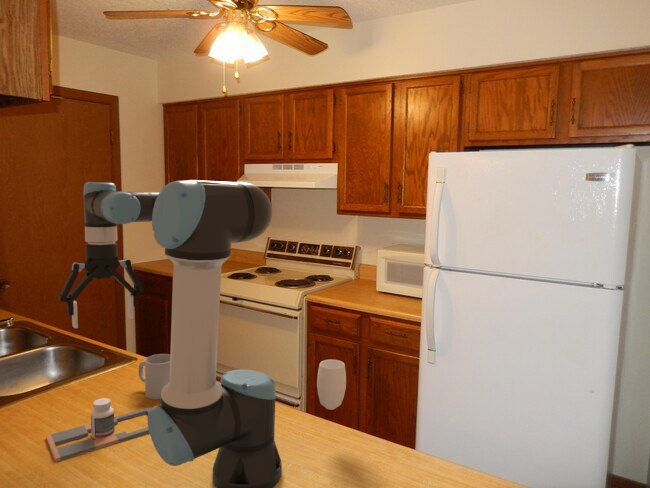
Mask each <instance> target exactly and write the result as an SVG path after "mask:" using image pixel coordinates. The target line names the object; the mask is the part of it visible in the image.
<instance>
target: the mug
mask: <svg viewBox="0 0 650 488" xmlns="http://www.w3.org/2000/svg"><path fill="white" fill-rule="evenodd" d="M170 355H171V354H169V353H158V354H153V355H150V356H148V357H146V358H145V359H144V360H142V361H140V362H139V364H138V377H139V379H140V381H141V382H143V383H144V387H145V388H144V389H145V390H144V393H145V394H144V395H145V397H146V398H147V399H150V400H161V391H162V389H163V388H164V387H165V386H166V385H167V384H168V383H169V382H170Z"/></svg>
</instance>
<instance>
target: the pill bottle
mask: <svg viewBox="0 0 650 488" xmlns="http://www.w3.org/2000/svg"><path fill="white" fill-rule="evenodd" d="M92 404H93V405H92V407H93V410H92V411H91V412H90V424H91V432H90V433H91V439H92V440H93V439H94V440H99V439H102V438H105V437H109V436H112V435H115V433H116V432H115V429H116V428H115V425H114V417H115V410H114V408H113V407H112V401H111V399H110V398H108V397H104V398H103V397H101V398H99V399H95V400H94V401H93V403H92Z"/></svg>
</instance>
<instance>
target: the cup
mask: <svg viewBox="0 0 650 488" xmlns="http://www.w3.org/2000/svg"><path fill="white" fill-rule="evenodd" d="M318 365H319V366H318V370H317V371H318V372H317V380H316V387H317V396H318V399H319V402H320V405H321V406H323V407H324V408H325V409H327V410H331V411H333V410H335V409H337V408H338V407H340V406H341V405H342V403H343V400H344V397H345V392H346V388H347V371H346V365H345V362H343V361H342V360H338V359H325V360H322V361H320V363H319V364H318Z"/></svg>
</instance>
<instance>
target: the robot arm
mask: <svg viewBox="0 0 650 488" xmlns="http://www.w3.org/2000/svg"><path fill="white" fill-rule="evenodd" d="M82 199H83V216H84V218H83V219H84V241H85V242H86V244H85V248H84V249H85V261H84V263H83V262H82V263H78V262H75V261H74V262H72V264H71V268H70V269H71V271H70V272H69V275H68V276H67V278H66V280H65V283H64V285H63V287H62V288H61V291H60V293H59V294H58V296H57V298H58V300H59V301H60V302H61V303H62V302H64V303H66V310H67V311H66V313H67V315H68V316H71V324H72V325H71V326H72V327H73V328H74V329H79V321H78V320H79V319H78V318H79V316H78V302H77V301H76V299H78V297H79V296H80V294H82V292H83V291H84V290H85V288H86V287H87V286H88V285H89V283H91V282H92V281H93V280H94V279H96V280H101V279H110V278H112V277H113V278H115V280H116V281H118V283H120V285H122V287H124V288H125V289H126V291H127V292H129V294H126V296H127V297H126V298H127V300H126V301H127V303H126V304H127V318H128V319H129V320H130V321H131V320H134V319H135V318H134V317H135V315H134V314H135V312H134V311H135V310H134V307H137V305H138V295H139V293H143V292H144V291H145V288H144V287H143V285H142V283H141V281H140V280H139V278H138V276H137V274H136V273H135V271H134V269H133V267H132V262H131V261H132V260H130V259H128V258H124V259H123V260H122V259H121V260H119V251H118V249H119V247H118V245H119V244H118V243H116V242H117V241H118V225H127V224H131V223H145V222H146V223H147V222H149V223H150V222H151V227H152V228H151V229H152V230H153V231H154V232H153V237H154V240H155V241H156V243H157V245H159V246H160V247H161V248H164V256H165V257H167V258H168V259H169V260H170V262H171V263H172V264H173V265H172V266H173V267H172V293H171V294H172V296H171V298H172V299H171V326H170V327H171V328H170V354H169V355H170V382H169V383H168V384H167V385H166V386H165V387H164V388H163V389H162V391H161V399H160V404H159V405H155V406H153V407H151V408H150V411H149V413H148V414H147V427H148V428H149V433H148V434H149V436H150V439H151V441H152V444H153V446H154V448H155V450H156V452H157V454H158V456H159V457H160V458H161V460H162V461H164V463H165V464H167V465H169V466H172V467H177V466H181V465H183V464H186V463H188V462H194V460H195V459H198V458H200V457H202V456H205V455H208V454H209V453H211V452H213V451H215V450H218V451H217V453H216V456H215V460H214V462H213V466H212V483H213V485H214V486H215V487H216V488H274V487H275V486H276V485H277V484H278V483H279V481H280V480H281V477H282V474H283V473H282V471H283V470H282V469H283V468H282V466H283V465H282V460H281V456H280V453H279V451H278V447H277V444H276V441H275V427H276V426H275V424H276V423H275V422H276V421H275V419H276V418H275V417H276V415H275V414H276V399H277V395H276V385H275V381H274V379H273V378H272V377H271V376H270V375H268V374H266V373H265V372H262V371H259V370H253V369H233V370H229V371H226V372H224V373H223V374H222V376H221V378H220V380H219V381H220V383H219V382H218V381H217V364H218V363H217V360H218V344H219V343H218V341H219V324H220V323H219V321H220V306H221V305H220V304H221V303H220V301H221V284H222V283H221V281H222V266H223V264H224V263H225V262H227V260H228V259H230V258H231V252H232V251H231V250H232V244H234V243H244V242H248V241H252V240H254V239H256V238H259V237H260V236H261V235H262V234H264V232H266V231H267V229H268V228H269V225H270V223H271V222H272V218H273V207H272V203H271V200H270V198H269V196H268V194H266V193H265V191H263V190H262V189H261V188H260V187H259V186H256V185H255V184H253V183H250V182H245V181H218V180H216V181H215V180H200V179H199V180H197V179H188V180H175V181H171V182H168V183H167V184H166V185H165V186H164V187H162V189H161V191H124V190H123V191H121V190H120V191H119V190H117V186H116V184H115V183H113V182H96V181H95V182H93V181H89V182H85V183H84V184H83V194H82ZM120 266H121V267H122V268H123V269H125V271H126V273H127V275H128V276H129V279H130V280H131V281H132V283H133V285H134V287H135V288H134V287H133V286H132V285H131V284H130V283H129V282H128V281H127V280H126V279H125V278H124V277H123V276H122V274H120V273H119V272H118V271H117V270H118V269H119V268H120ZM83 269H85V270H86V274H85V275H84V276H83V278H82V279H81V280H80V281H79V283H78V284H77V285H76V286H75V287H74V289H73V290H72V288H73V286H74V284H75V281H76V280H77V277H78V275H79V273H81V272H82V270H83ZM71 290H72V291H71Z"/></svg>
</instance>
